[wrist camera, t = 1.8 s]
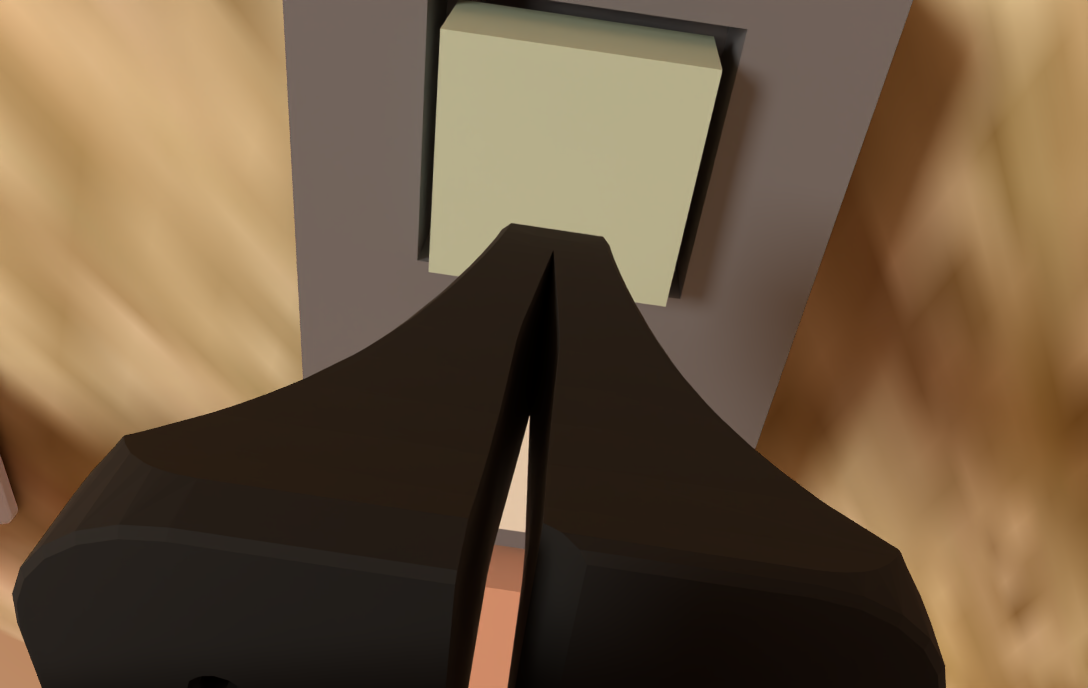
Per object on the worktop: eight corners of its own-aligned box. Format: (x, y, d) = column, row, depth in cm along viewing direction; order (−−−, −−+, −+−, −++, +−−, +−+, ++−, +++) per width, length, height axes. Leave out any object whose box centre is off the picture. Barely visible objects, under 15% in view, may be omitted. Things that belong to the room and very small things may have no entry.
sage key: (445, 226, 17) (429, 272, 16) (459, -1, 15) (440, 28, 13) (663, 258, 17) (665, 306, 16) (714, 36, 15) (722, 70, 13)
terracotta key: (421, 626, 25) (408, 682, 24) (427, 521, 22) (413, 576, 21) (573, 648, 25) (569, 705, 24) (597, 546, 22) (594, 603, 21)
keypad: (346, 580, 28) (318, 663, 25) (332, -127, 16) (277, -101, 14) (659, 626, 28) (661, 713, 25) (872, -48, 16) (915, -7, 14)
